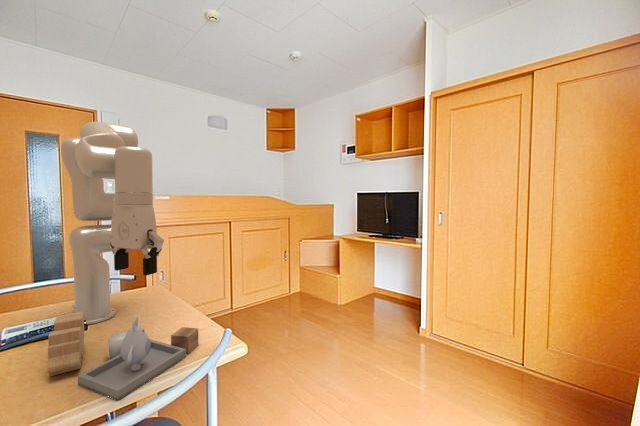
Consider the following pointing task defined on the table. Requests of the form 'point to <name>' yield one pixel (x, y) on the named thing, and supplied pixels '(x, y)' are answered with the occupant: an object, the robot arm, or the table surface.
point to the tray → (130, 371)
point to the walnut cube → (185, 339)
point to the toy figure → (135, 346)
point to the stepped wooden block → (66, 344)
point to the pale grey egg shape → (116, 344)
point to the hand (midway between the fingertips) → (135, 271)
